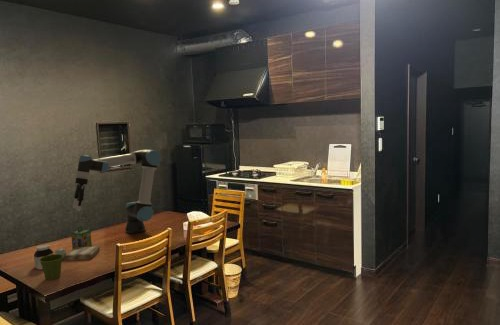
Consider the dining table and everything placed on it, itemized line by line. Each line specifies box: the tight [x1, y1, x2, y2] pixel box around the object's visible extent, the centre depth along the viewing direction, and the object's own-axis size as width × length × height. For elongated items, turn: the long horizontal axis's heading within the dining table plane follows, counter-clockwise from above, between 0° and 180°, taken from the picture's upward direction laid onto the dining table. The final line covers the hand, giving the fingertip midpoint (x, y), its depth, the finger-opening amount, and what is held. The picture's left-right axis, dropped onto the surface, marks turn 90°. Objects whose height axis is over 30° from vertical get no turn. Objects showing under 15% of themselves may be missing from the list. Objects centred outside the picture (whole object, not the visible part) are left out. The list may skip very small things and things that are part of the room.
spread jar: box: [33, 244, 54, 270], centre depth 225 cm, size 12×11×12 cm
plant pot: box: [39, 253, 63, 281], centre depth 207 cm, size 12×12×11 cm
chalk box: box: [71, 226, 93, 249], centre depth 258 cm, size 9×9×15 cm
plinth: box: [64, 245, 100, 261], centre depth 243 cm, size 16×16×3 cm
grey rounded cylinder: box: [54, 247, 67, 261], centre depth 238 cm, size 6×6×6 cm
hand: (76, 209), depth 252 cm, fingers open, 13 cm apart
